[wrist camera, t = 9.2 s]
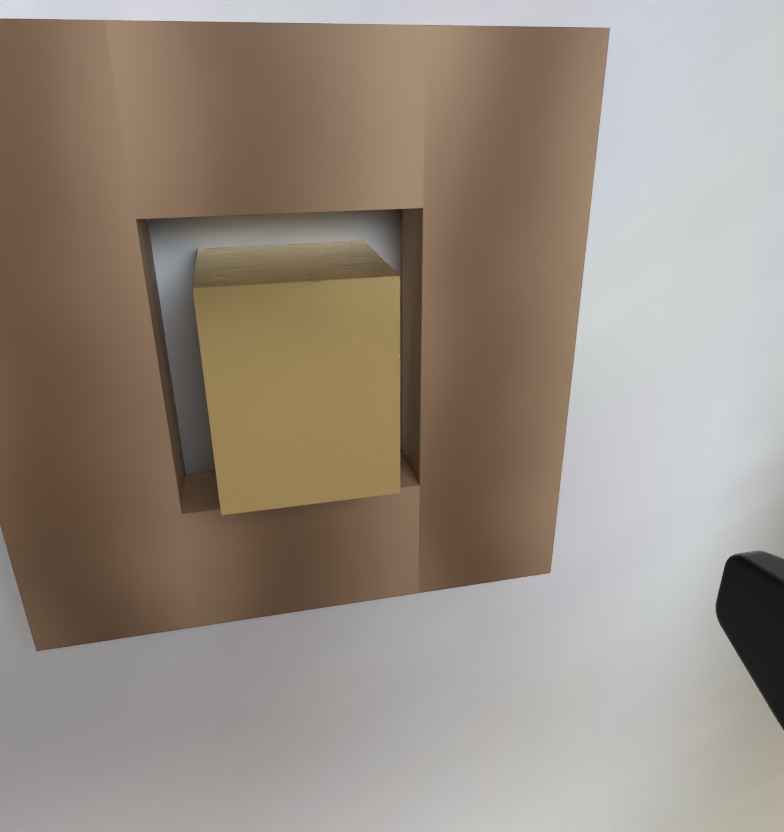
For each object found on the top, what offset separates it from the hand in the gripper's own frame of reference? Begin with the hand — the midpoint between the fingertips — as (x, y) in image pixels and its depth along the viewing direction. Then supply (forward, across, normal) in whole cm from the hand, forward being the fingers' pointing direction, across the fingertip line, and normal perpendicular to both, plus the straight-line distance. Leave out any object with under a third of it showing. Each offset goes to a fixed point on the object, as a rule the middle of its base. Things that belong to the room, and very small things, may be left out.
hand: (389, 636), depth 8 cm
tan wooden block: (+11, 0, 0) cm, 11 cm away
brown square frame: (+11, 0, 0) cm, 11 cm away
